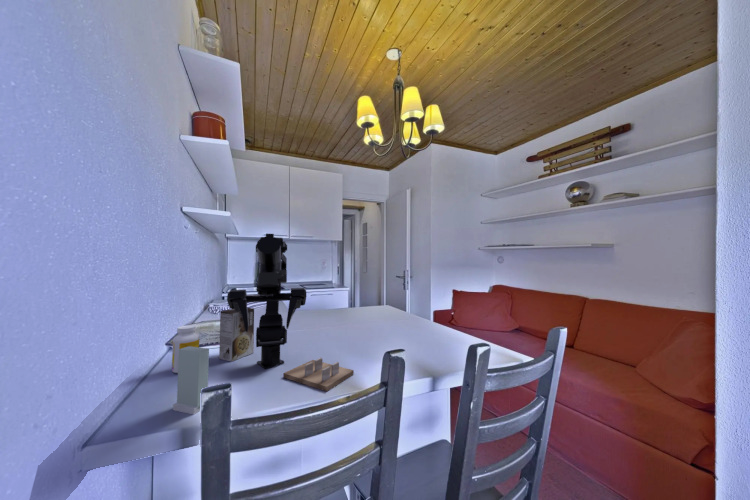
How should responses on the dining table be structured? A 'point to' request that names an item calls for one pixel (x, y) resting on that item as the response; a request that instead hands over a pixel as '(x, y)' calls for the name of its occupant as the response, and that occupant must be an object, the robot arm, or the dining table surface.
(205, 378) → the pale green pillar
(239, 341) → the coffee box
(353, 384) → the dining table surface
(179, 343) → the supplement bottle
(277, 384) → the dining table surface
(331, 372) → the hinge base
